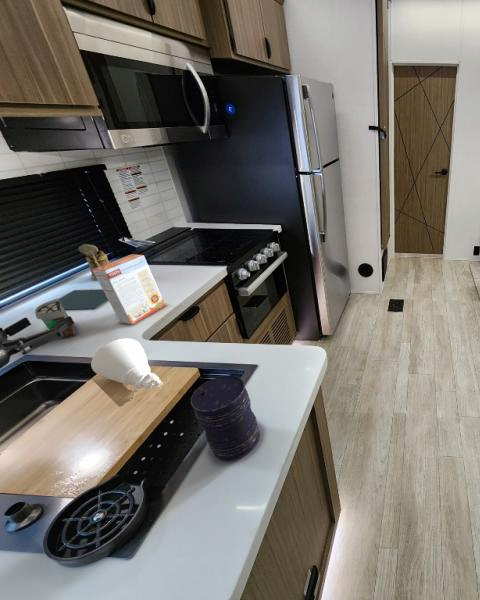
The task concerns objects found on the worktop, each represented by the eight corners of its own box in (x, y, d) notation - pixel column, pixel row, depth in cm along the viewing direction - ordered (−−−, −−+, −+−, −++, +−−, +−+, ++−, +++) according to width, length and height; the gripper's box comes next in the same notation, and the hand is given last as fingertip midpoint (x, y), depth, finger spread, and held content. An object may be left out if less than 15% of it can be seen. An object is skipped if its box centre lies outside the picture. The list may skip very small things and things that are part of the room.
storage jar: (264, 420, 78) (250, 372, 71) (255, 457, 70) (237, 407, 62) (220, 426, 77) (200, 378, 69) (205, 465, 68) (181, 414, 61)
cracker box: (153, 303, 128) (131, 253, 118) (166, 305, 126) (145, 254, 116) (118, 323, 116) (90, 268, 106) (132, 325, 115) (105, 270, 104)
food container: (48, 329, 113) (32, 304, 108) (72, 322, 117) (57, 297, 112) (50, 345, 105) (32, 318, 100) (75, 337, 109) (59, 311, 104)
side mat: (40, 310, 124) (39, 309, 124) (74, 291, 138) (74, 290, 138) (94, 309, 125) (94, 308, 125) (123, 289, 139) (123, 288, 138)
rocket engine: (149, 369, 80) (110, 334, 86) (117, 411, 78) (80, 372, 84) (187, 374, 91) (150, 343, 97) (160, 412, 88) (124, 377, 95)
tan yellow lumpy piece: (90, 285, 142) (69, 246, 133) (94, 274, 152) (74, 237, 143) (115, 280, 146) (97, 241, 138) (118, 270, 156) (100, 233, 148)
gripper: (-59, 375, 90) (16, 331, 108) (35, 372, 91) (94, 328, 109) (-79, 353, 86) (2, 311, 105) (20, 350, 87) (83, 309, 106)
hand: (49, 320), depth 107 cm, fingers open, 13 cm apart
